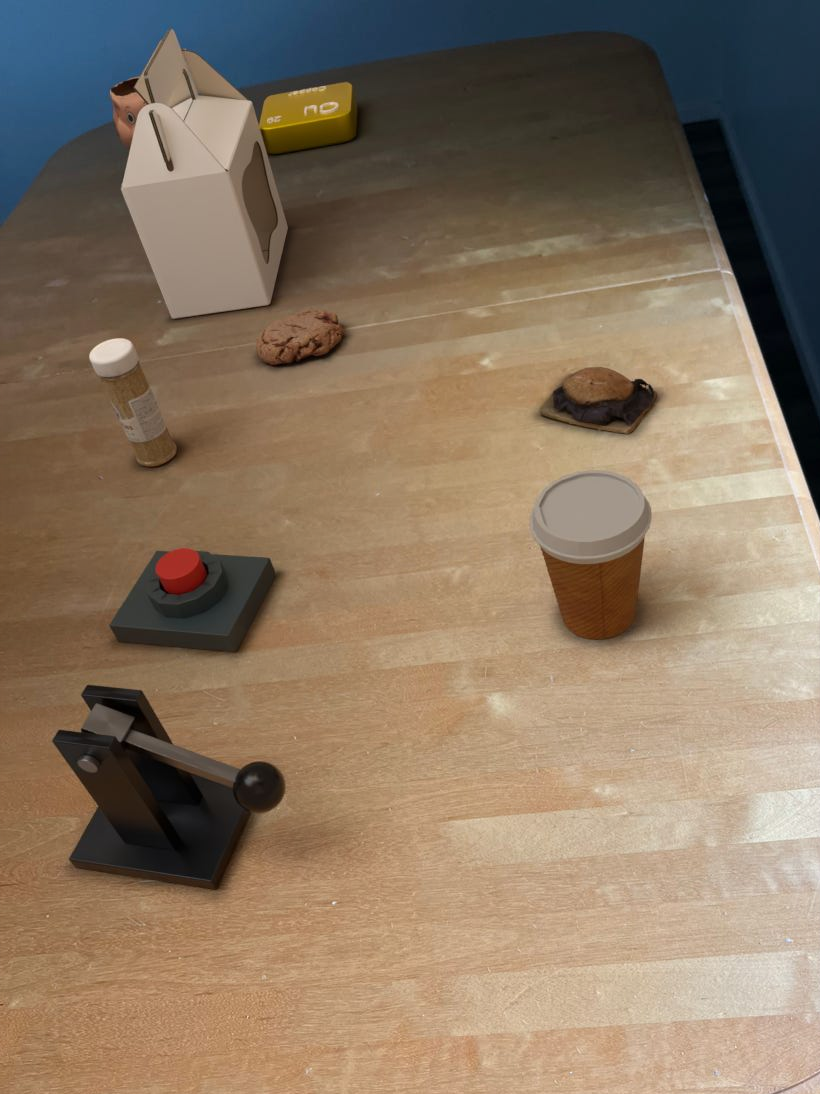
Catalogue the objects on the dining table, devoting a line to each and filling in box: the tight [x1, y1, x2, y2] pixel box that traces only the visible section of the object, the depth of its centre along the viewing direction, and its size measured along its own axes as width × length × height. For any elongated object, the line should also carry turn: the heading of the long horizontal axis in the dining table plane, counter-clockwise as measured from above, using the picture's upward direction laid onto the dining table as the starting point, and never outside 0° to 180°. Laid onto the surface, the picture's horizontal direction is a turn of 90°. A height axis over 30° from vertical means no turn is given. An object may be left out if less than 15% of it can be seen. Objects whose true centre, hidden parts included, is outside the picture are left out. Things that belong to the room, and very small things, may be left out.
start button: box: [156, 547, 207, 595], centre depth 95 cm, size 4×4×2 cm
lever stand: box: [51, 684, 252, 890], centre depth 76 cm, size 12×9×14 cm
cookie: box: [256, 308, 344, 366], centre depth 127 cm, size 10×11×3 cm
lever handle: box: [80, 703, 287, 814], centre depth 73 cm, size 14×4×4 cm, turn 76°
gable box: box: [120, 28, 289, 320], centre depth 134 cm, size 22×13×28 cm, turn 1°
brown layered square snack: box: [538, 366, 658, 435], centre depth 109 cm, size 11×8×4 cm
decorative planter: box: [109, 75, 147, 151], centre depth 167 cm, size 20×12×14 cm, turn 12°
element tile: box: [258, 81, 358, 156], centre depth 173 cm, size 15×15×5 cm
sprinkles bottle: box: [88, 337, 178, 468], centre depth 111 cm, size 5×5×14 cm
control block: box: [108, 550, 277, 653], centre depth 97 cm, size 12×10×4 cm
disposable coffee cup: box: [528, 469, 653, 640], centre depth 86 cm, size 10×10×12 cm
